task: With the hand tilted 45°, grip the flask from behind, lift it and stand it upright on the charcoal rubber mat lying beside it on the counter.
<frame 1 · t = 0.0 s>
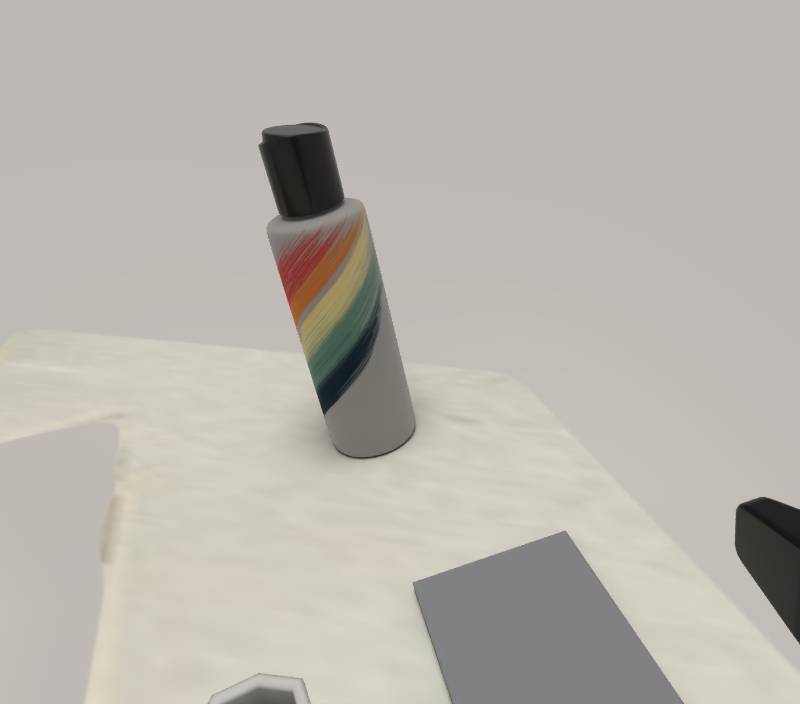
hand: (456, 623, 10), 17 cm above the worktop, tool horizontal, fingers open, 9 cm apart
lotion bottle: (375, 435, 44), on the worktop
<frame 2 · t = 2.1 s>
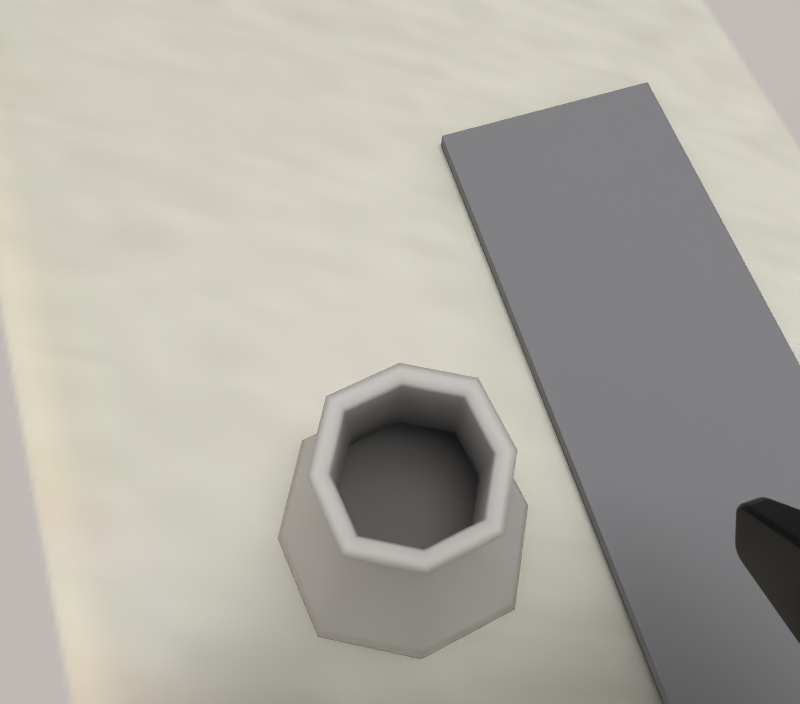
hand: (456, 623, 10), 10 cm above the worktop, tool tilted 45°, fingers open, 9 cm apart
flask: (403, 523, 20), on the worktop
charcoal mat: (661, 370, 21), on the worktop
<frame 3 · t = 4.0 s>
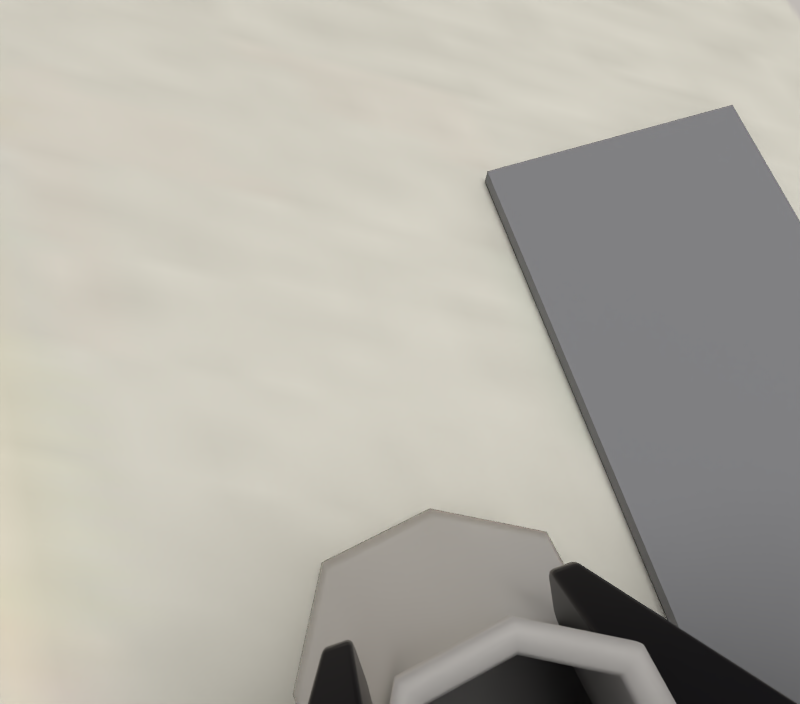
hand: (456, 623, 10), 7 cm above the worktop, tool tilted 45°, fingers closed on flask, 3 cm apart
flask: (451, 668, 16), on the worktop, touching gripper
charcoal mat: (764, 466, 17), on the worktop
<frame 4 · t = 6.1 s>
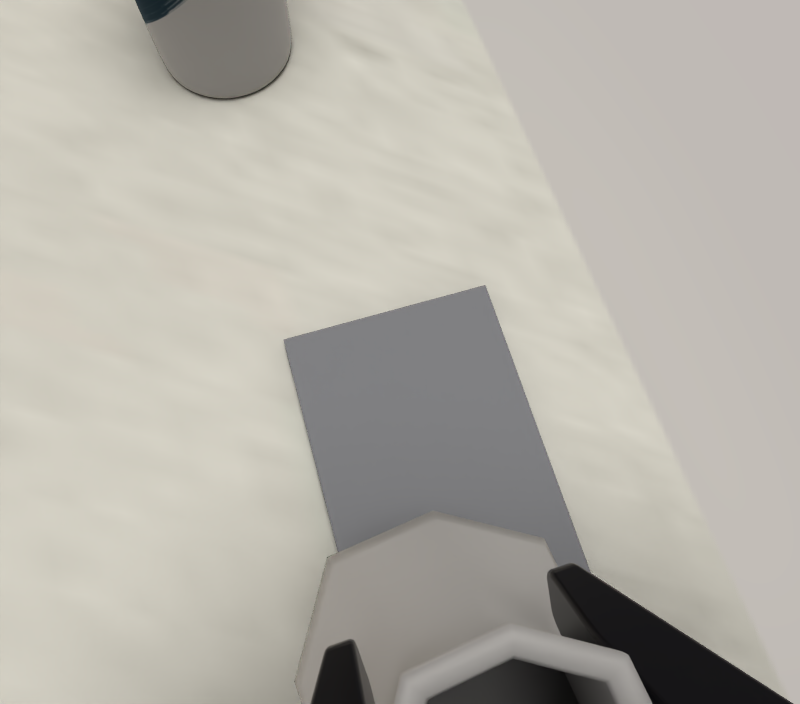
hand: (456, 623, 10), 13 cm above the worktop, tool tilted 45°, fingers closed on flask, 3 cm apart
flask: (446, 664, 16), point 6 cm above the worktop, touching gripper
charcoal mat: (469, 584, 22), on the worktop
lotion bottle: (229, 51, 29), on the worktop
when the fingers open (8 cm above the worktop, at t = 8.1 s): flask stays where it is, resting on charcoal mat.
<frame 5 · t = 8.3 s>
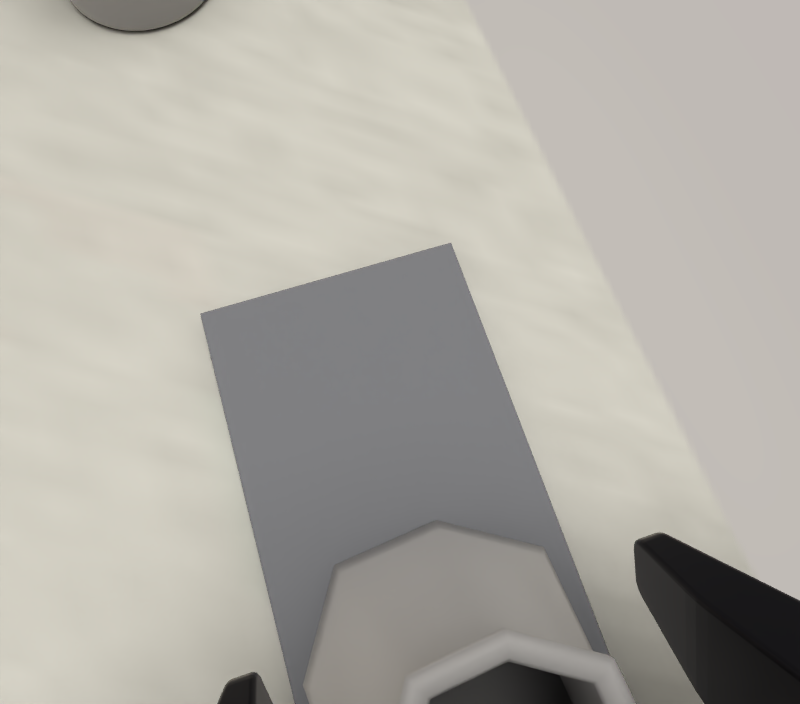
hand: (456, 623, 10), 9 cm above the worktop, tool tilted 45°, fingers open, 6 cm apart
flask: (449, 668, 17), resting on charcoal mat
charcoal mat: (434, 617, 18), on the worktop
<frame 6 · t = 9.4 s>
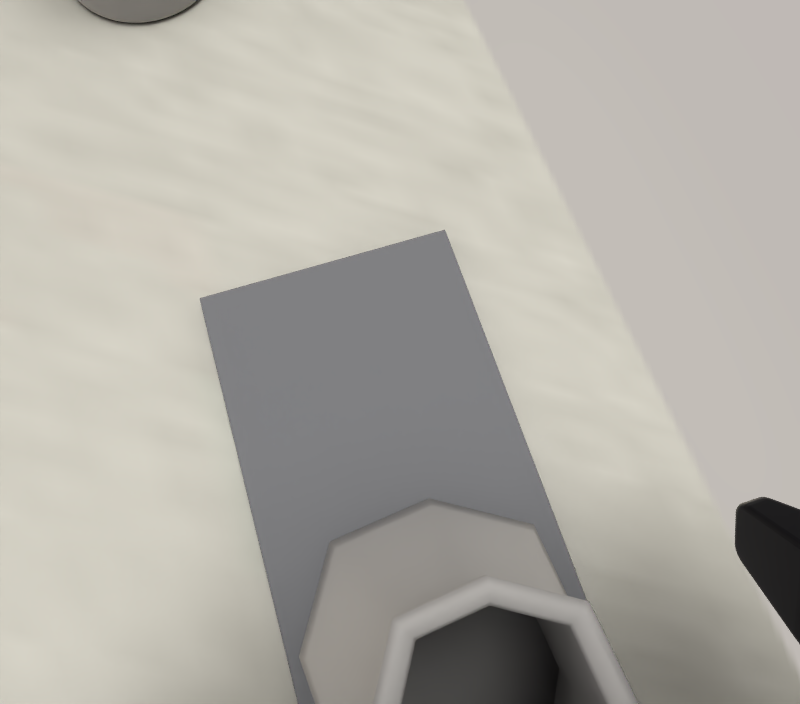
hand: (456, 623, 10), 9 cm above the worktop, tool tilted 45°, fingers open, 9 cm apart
flask: (441, 642, 17), resting on charcoal mat
charcoal mat: (427, 592, 18), on the worktop
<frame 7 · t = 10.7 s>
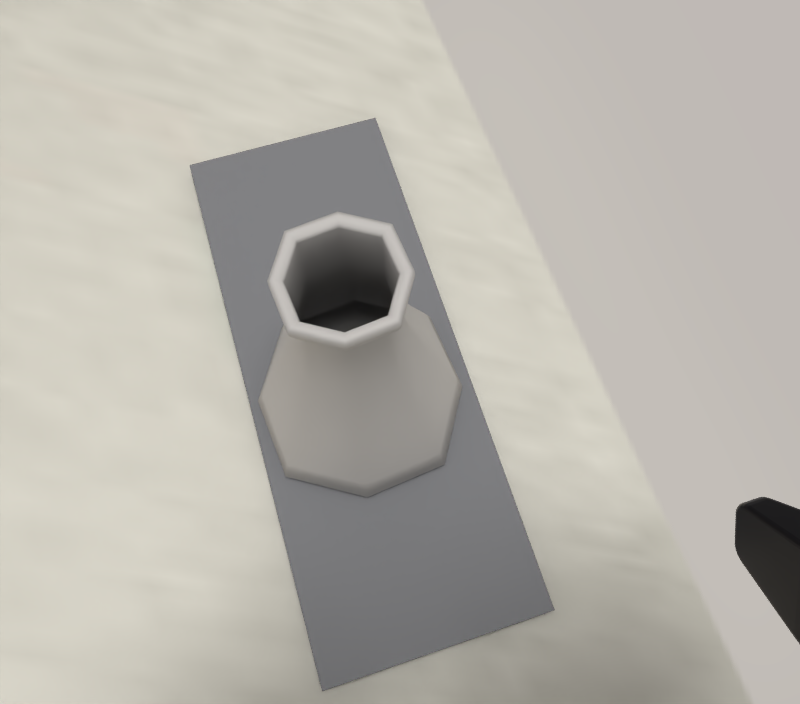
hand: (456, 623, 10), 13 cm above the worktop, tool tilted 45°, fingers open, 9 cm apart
flask: (361, 397, 24), resting on charcoal mat
charcoal mat: (353, 367, 25), on the worktop
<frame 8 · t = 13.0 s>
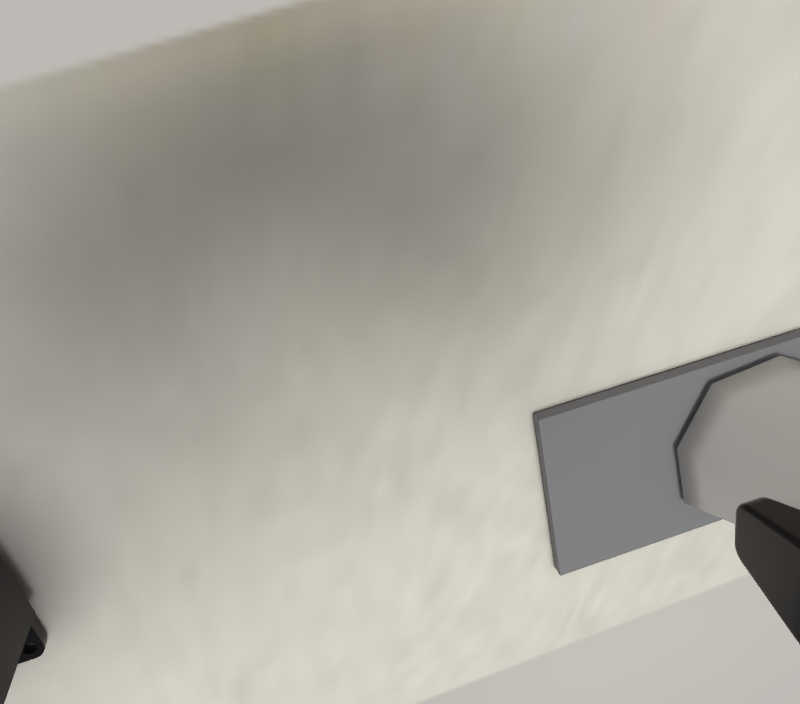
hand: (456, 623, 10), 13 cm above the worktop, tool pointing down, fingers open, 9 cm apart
flask: (749, 432, 27), resting on charcoal mat
charcoal mat: (771, 420, 27), on the worktop
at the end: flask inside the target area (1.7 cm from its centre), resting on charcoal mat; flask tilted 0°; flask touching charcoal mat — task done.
